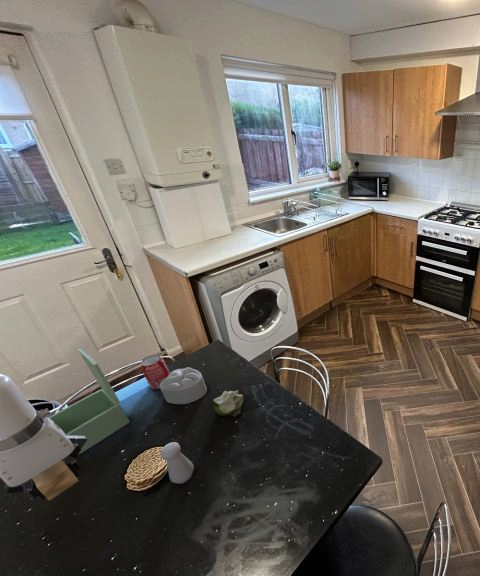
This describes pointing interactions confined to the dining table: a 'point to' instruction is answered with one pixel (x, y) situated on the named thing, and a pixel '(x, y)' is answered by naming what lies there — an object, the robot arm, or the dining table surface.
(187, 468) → the salt shaker
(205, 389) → the lumpy-topped squat cylinder
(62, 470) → the block
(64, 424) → the chest
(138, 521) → the dining table surface
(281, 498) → the dining table surface
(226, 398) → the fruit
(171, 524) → the dining table surface
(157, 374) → the soda can
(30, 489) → the robot arm
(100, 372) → the lid
